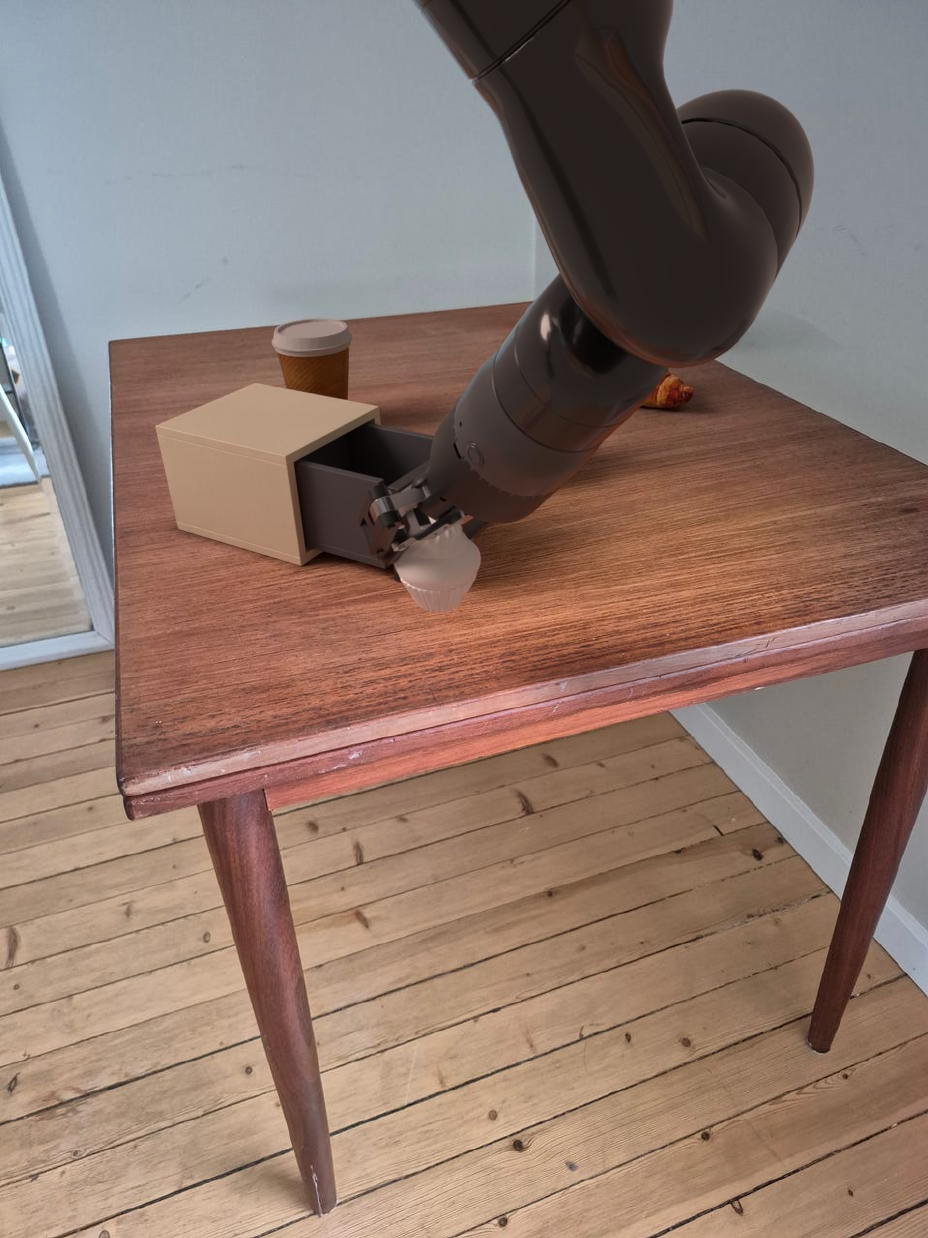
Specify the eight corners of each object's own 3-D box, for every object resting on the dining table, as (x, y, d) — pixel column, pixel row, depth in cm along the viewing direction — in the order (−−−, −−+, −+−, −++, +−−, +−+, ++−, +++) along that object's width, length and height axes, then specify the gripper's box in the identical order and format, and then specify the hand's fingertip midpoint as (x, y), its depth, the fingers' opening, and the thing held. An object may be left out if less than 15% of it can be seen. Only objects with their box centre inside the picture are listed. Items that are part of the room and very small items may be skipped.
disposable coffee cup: (270, 424, 113) (255, 327, 107) (334, 406, 118) (324, 312, 112) (308, 445, 107) (295, 344, 100) (375, 425, 112) (366, 328, 105)
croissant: (550, 406, 126) (532, 361, 120) (593, 358, 128) (577, 312, 122) (676, 442, 112) (662, 394, 106) (720, 388, 115) (709, 338, 109)
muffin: (494, 588, 66) (493, 502, 62) (462, 631, 62) (459, 540, 58) (418, 574, 68) (413, 489, 65) (381, 614, 64) (374, 525, 60)
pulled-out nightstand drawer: (489, 527, 86) (488, 439, 81) (417, 587, 77) (411, 492, 72) (356, 494, 93) (348, 411, 88) (275, 546, 84) (261, 456, 79)
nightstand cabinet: (387, 507, 92) (379, 406, 86) (301, 566, 82) (285, 456, 76) (270, 478, 99) (255, 382, 93) (177, 529, 89) (154, 425, 83)
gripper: (597, 348, 52) (489, 470, 67) (376, 394, 46) (312, 517, 61) (650, 463, 51) (528, 560, 66) (431, 525, 45) (352, 617, 60)
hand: (425, 539), depth 64 cm, fingers closed on muffin, 6 cm apart
